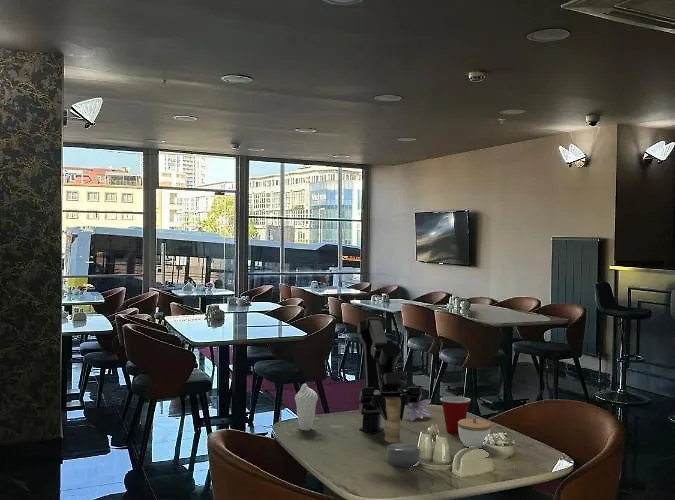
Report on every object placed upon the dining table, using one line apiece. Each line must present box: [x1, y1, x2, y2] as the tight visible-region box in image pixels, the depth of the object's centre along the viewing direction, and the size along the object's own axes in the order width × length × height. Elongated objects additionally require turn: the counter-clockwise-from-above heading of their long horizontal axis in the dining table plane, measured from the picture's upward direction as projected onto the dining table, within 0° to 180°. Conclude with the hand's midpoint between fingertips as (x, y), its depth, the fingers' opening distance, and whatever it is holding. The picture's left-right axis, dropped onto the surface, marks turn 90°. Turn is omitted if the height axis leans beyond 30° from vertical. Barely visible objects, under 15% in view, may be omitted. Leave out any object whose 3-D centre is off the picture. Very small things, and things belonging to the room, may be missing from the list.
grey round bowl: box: [386, 442, 421, 468], centre depth 196 cm, size 10×10×4 cm
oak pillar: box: [384, 397, 401, 443], centre depth 195 cm, size 4×4×12 cm
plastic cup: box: [439, 396, 472, 435], centre depth 229 cm, size 11×11×12 cm
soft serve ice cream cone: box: [294, 383, 319, 431], centre depth 228 cm, size 8×8×16 cm
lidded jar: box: [458, 417, 492, 448], centre depth 213 cm, size 11×11×9 cm
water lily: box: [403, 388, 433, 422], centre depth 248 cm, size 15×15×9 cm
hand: (393, 419), depth 194 cm, fingers closed on oak pillar, 4 cm apart
